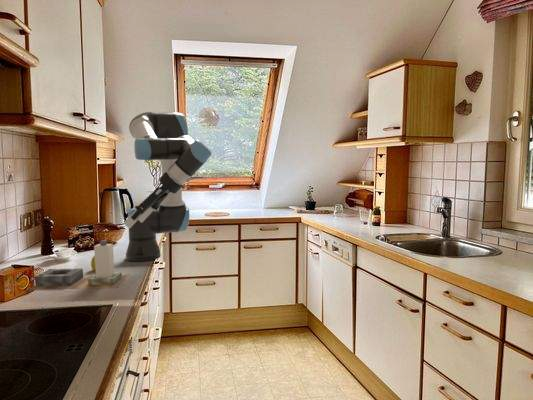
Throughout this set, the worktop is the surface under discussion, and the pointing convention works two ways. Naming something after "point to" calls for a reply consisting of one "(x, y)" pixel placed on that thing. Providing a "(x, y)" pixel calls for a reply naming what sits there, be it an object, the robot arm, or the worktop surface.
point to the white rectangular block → (104, 260)
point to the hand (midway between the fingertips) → (133, 222)
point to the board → (84, 285)
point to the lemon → (93, 263)
